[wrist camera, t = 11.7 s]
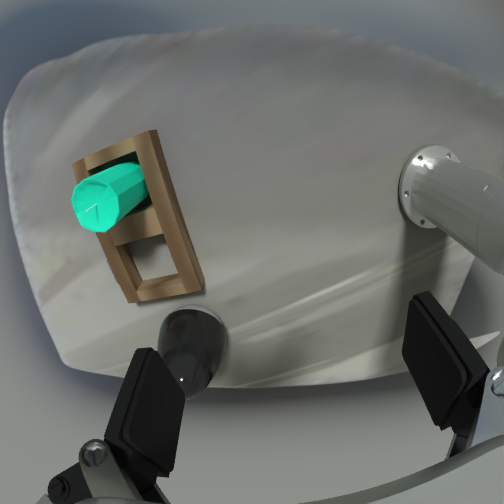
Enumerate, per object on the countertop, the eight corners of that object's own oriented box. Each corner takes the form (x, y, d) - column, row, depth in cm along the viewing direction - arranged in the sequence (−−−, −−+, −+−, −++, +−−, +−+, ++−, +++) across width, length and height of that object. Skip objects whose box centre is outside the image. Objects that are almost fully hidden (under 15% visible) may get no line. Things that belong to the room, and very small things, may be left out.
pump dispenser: (186, 281, 41) (161, 356, 28) (241, 317, 44) (238, 396, 31) (154, 320, 45) (128, 391, 31) (205, 350, 48) (193, 423, 34)
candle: (114, 157, 33) (64, 176, 22) (155, 164, 34) (114, 186, 23) (110, 199, 35) (63, 232, 25) (148, 207, 36) (110, 245, 25)
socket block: (156, 129, 32) (148, 130, 29) (204, 279, 41) (201, 290, 38) (80, 161, 33) (69, 165, 30) (133, 292, 42) (126, 303, 40)
